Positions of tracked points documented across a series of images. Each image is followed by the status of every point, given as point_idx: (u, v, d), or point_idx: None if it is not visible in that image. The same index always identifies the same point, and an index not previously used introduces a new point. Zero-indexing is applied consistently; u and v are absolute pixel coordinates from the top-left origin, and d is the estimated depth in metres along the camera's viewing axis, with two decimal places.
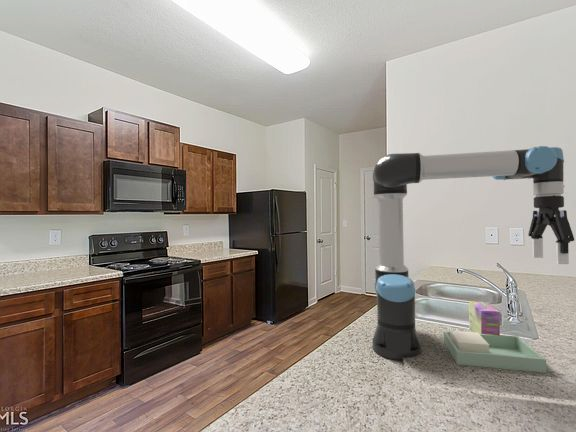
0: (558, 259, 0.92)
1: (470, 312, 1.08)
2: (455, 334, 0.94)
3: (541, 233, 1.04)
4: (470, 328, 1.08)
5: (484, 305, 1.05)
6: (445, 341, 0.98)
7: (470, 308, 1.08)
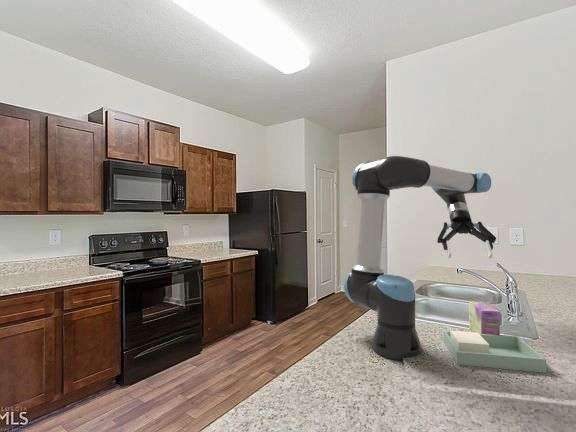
0: (491, 251, 1.11)
1: (470, 312, 1.08)
2: (455, 334, 0.94)
3: (448, 240, 1.21)
4: (470, 328, 1.08)
5: (484, 305, 1.05)
6: (445, 341, 0.98)
7: (470, 308, 1.08)
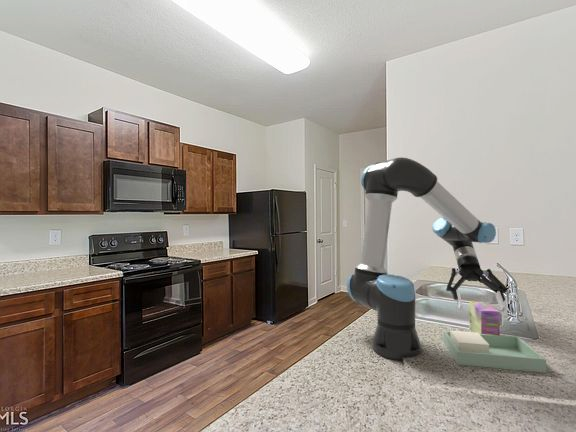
0: (503, 304, 1.07)
1: (470, 312, 1.08)
2: (455, 334, 0.94)
3: None
4: (470, 328, 1.08)
5: (484, 305, 1.05)
6: (445, 341, 0.98)
7: (470, 308, 1.08)
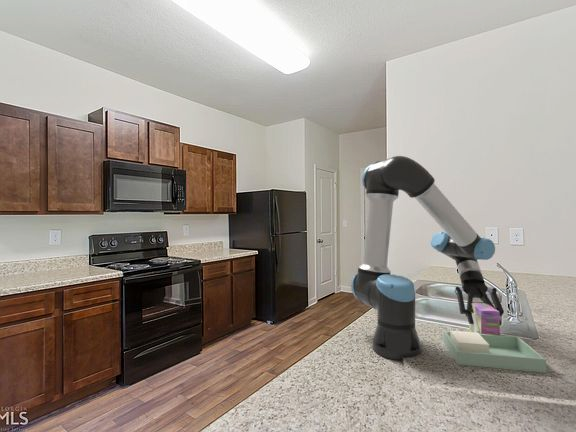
0: None
1: None
2: (455, 334, 0.94)
3: None
4: (470, 328, 1.08)
5: (484, 305, 1.05)
6: (445, 341, 0.98)
7: None
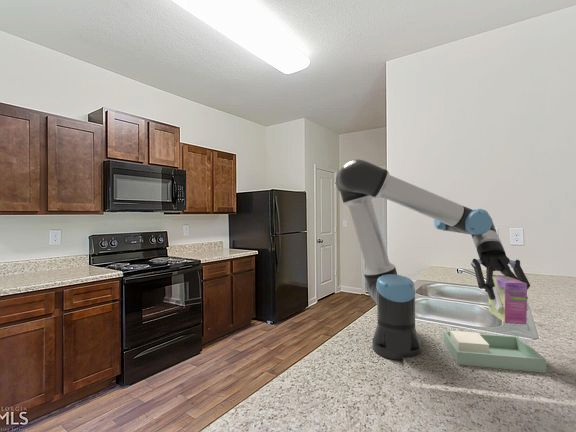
0: None
1: None
2: (455, 334, 0.94)
3: None
4: (490, 305, 0.94)
5: (507, 278, 0.91)
6: (445, 341, 0.98)
7: None
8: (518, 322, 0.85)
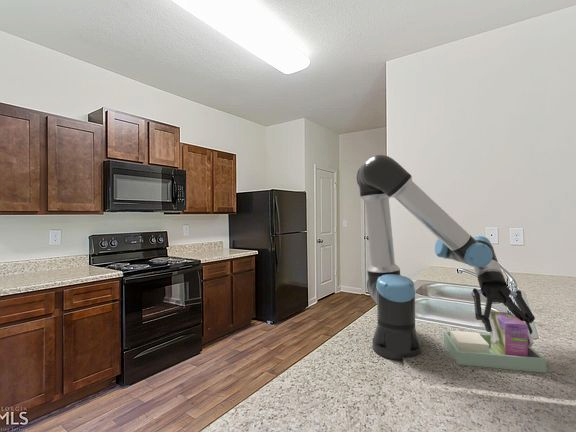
0: (531, 338, 0.85)
1: None
2: (455, 334, 0.94)
3: None
4: (492, 342, 0.94)
5: (509, 316, 0.90)
6: (445, 341, 0.98)
7: None
8: None
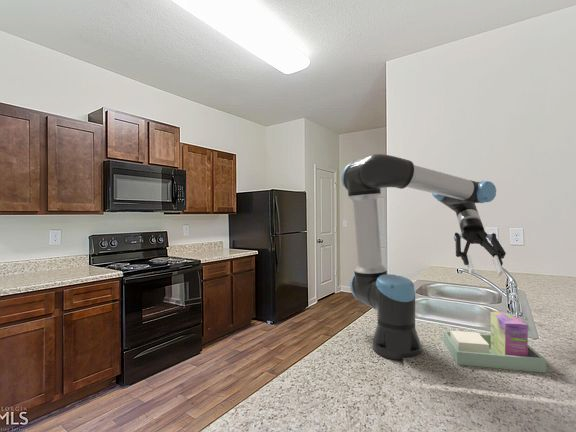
0: (501, 267, 1.00)
1: (492, 324, 0.94)
2: (455, 334, 0.94)
3: None
4: (492, 342, 0.94)
5: (509, 316, 0.90)
6: (445, 341, 0.98)
7: (492, 319, 0.94)
8: None
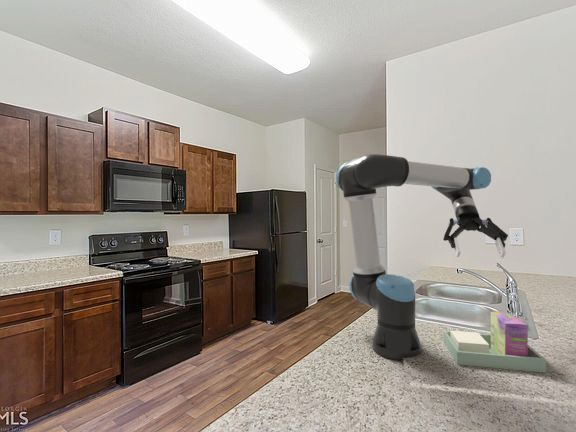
0: (504, 249, 1.01)
1: (492, 324, 0.94)
2: (455, 334, 0.94)
3: (455, 237, 1.11)
4: (492, 342, 0.94)
5: (509, 316, 0.90)
6: (445, 341, 0.98)
7: (492, 319, 0.94)
8: None
